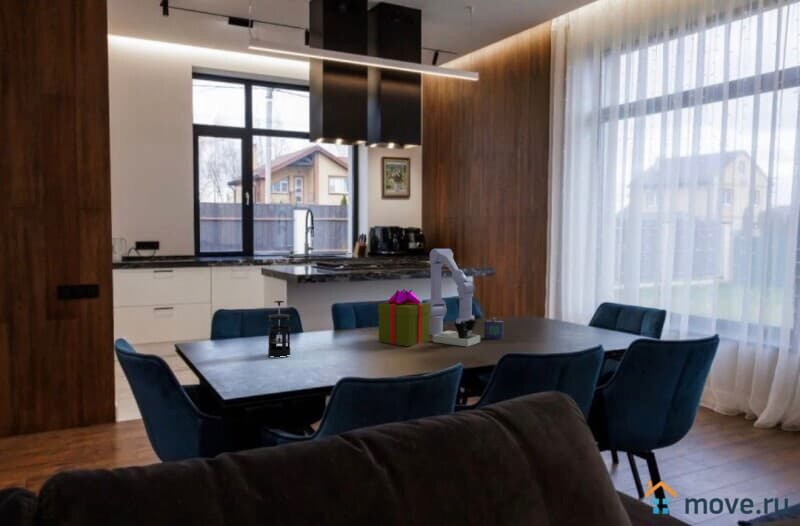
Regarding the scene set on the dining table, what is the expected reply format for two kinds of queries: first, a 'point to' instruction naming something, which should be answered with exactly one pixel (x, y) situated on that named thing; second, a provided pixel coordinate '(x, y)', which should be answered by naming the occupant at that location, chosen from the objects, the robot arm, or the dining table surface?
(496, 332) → the flask
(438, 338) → the tote
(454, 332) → the egg box
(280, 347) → the french press
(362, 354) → the dining table surface
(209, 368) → the dining table surface
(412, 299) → the gift box
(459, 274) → the robot arm
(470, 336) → the tin
